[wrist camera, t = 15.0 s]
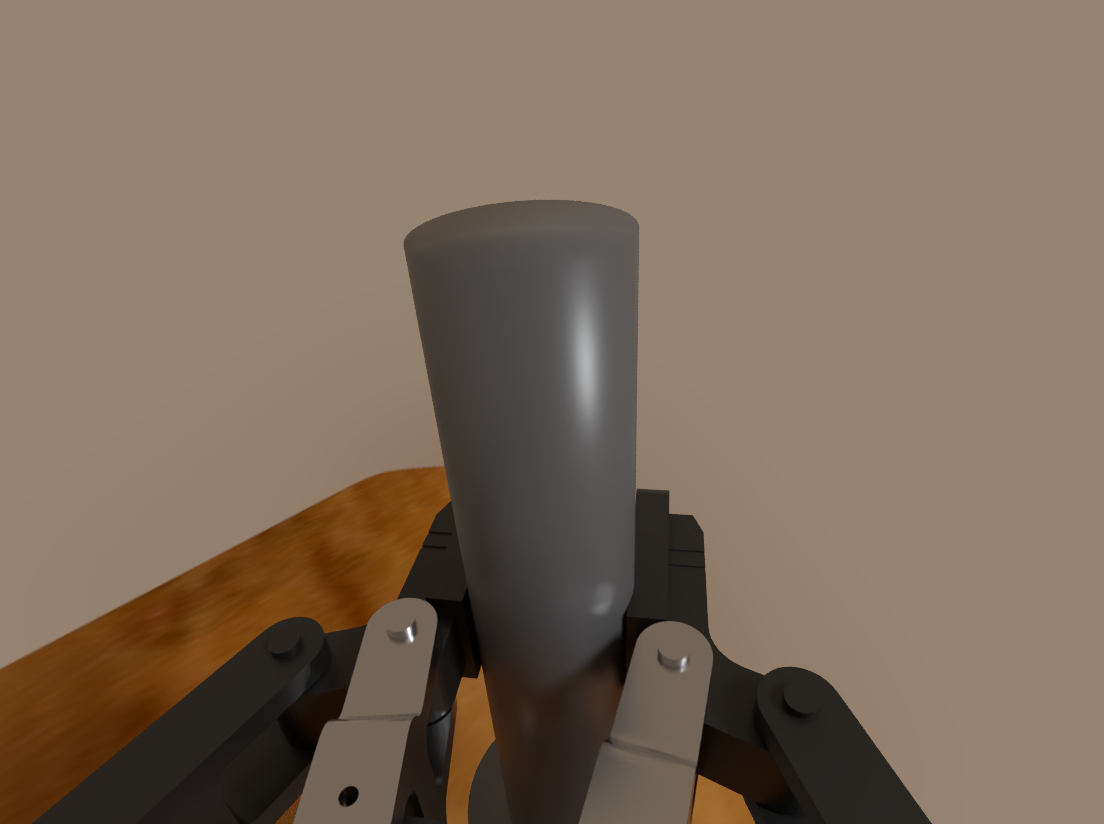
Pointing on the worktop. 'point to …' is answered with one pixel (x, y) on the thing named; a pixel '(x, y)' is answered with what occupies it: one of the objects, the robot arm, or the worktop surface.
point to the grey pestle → (538, 475)
